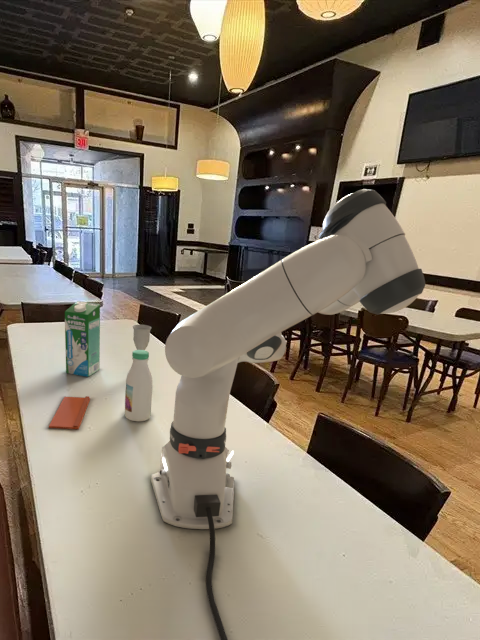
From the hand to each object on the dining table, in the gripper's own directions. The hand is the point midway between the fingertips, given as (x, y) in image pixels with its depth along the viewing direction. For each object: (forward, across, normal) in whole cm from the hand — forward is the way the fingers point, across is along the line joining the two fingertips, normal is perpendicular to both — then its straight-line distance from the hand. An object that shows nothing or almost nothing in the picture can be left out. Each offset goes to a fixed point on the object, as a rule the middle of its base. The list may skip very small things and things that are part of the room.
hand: (177, 347), depth 116 cm
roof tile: (+31, +2, +20) cm, 37 cm away
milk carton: (+32, -33, +24) cm, 52 cm away
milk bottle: (+11, +3, +21) cm, 24 cm away
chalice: (+11, -33, +25) cm, 43 cm away
